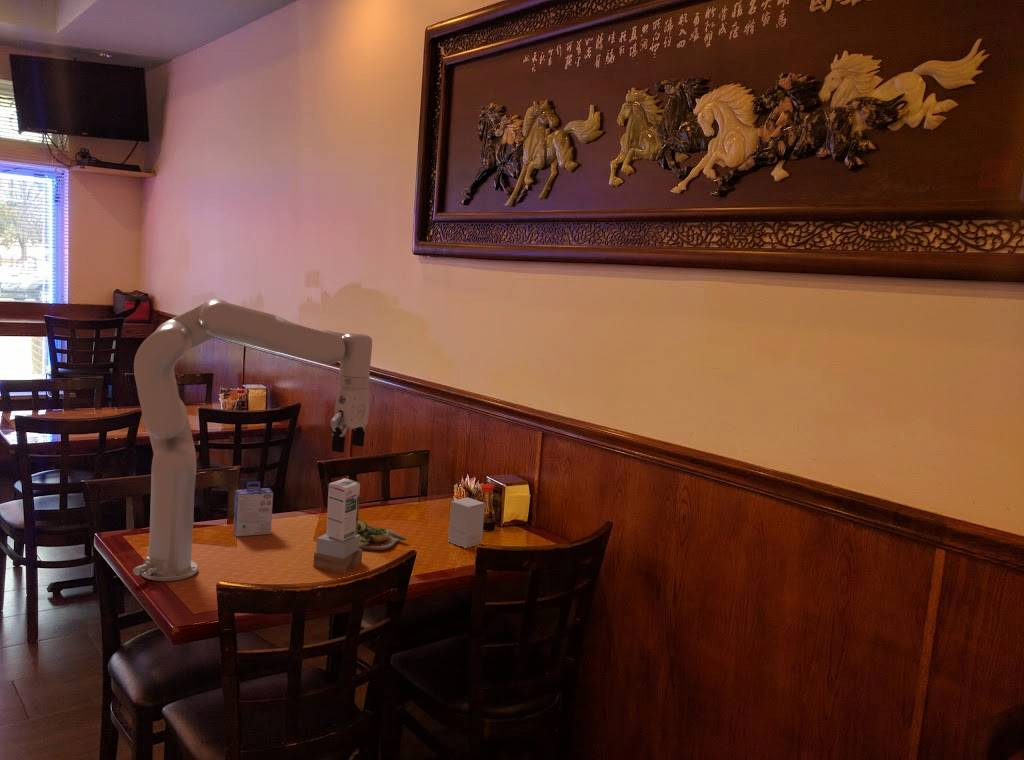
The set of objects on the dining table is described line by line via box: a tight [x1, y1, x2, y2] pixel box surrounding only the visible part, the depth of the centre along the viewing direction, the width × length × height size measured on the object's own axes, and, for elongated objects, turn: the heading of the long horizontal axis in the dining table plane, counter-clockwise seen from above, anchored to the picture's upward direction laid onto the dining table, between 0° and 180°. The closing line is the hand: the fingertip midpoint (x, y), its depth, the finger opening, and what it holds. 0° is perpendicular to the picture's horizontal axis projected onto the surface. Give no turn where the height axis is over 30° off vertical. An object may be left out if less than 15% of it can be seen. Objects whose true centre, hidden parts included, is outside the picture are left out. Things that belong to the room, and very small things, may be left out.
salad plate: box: [357, 518, 407, 551], centre depth 226 cm, size 19×18×5 cm
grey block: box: [315, 533, 360, 559], centre depth 205 cm, size 8×8×4 cm
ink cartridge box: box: [232, 480, 274, 537], centre depth 222 cm, size 10×6×14 cm, turn 120°
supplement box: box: [447, 497, 486, 549], centre depth 231 cm, size 7×7×13 cm
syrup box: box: [325, 477, 361, 542], centre depth 203 cm, size 6×6×14 cm
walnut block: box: [312, 549, 363, 575], centre depth 205 cm, size 9×9×4 cm
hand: (347, 448), depth 202 cm, fingers open, 9 cm apart
